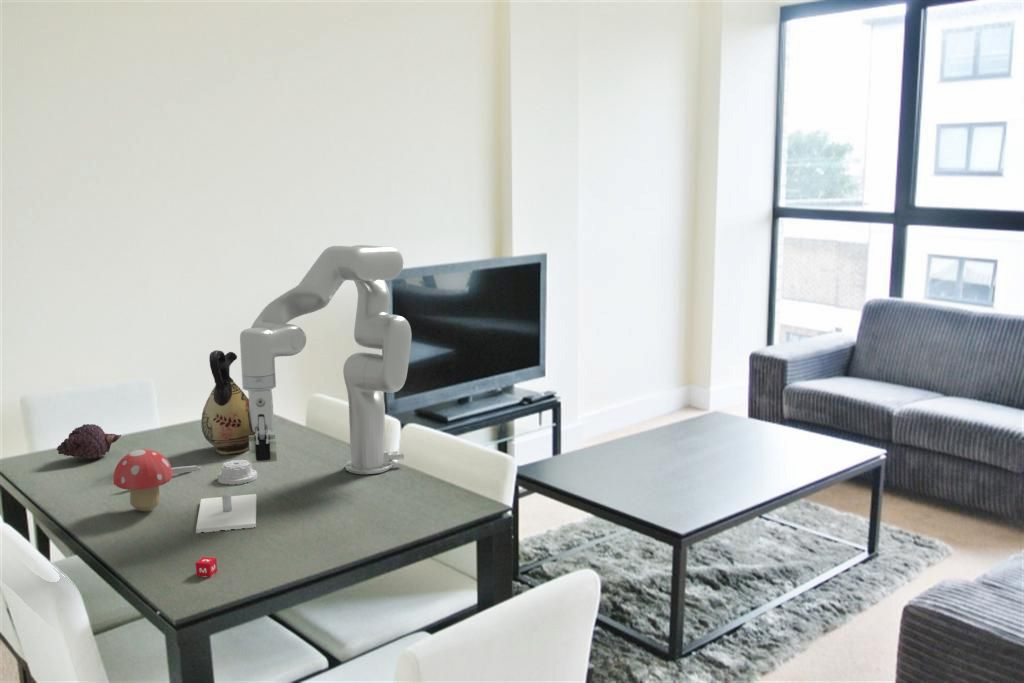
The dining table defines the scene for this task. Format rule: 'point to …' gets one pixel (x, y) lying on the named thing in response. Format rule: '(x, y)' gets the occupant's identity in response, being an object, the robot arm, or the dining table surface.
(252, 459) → the pale green open box
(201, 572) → the dice
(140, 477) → the decorative mushroom
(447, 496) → the dining table surface
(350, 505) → the dining table surface
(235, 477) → the mechanical component
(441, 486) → the dining table surface
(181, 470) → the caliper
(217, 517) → the pin board
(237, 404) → the ceramic jug
